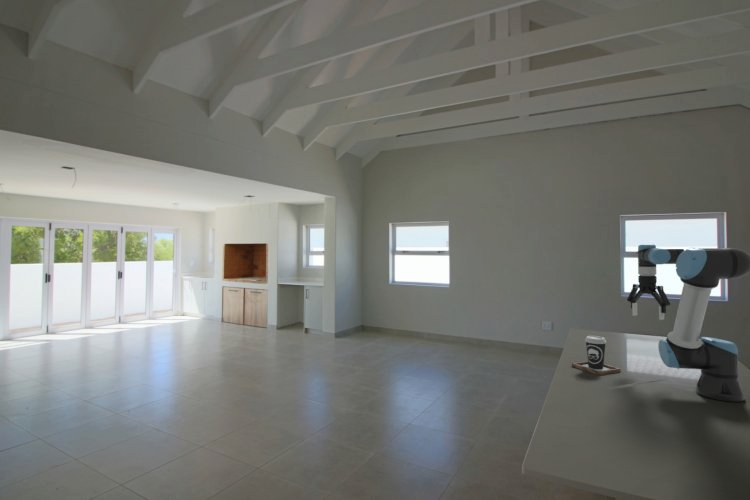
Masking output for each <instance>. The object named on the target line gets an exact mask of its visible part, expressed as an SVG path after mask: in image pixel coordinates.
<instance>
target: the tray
mask: <svg viewBox="0 0 750 500" xmlns="http://www.w3.org/2000/svg"><path fill="white" fill-rule="evenodd" d="M585 364H588V360H587V361H578V362H572V363H571V367H573V368H576V369H578V370H582V371H585V372H589V373H590V374H593V375H597V376H604V375H605V376H606V375H611V374H616V373H617V374H618V373H621V372H622V371H621V368H620V367H616V366H613V365H609V364H606V363H604V365H603V366H604V367H607V368H610V370H603V371H597V370H594V369H591V368H588V367H584V366H582V365H585Z"/></svg>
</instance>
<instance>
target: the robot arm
mask: <svg viewBox="0 0 750 500" xmlns="http://www.w3.org/2000/svg"><path fill="white" fill-rule="evenodd" d="M657 265H675V273H676V275H677V276H678V277H679V279H680V281H681V282H682V283H683V284H682V285H683V286H682V290H681V294H680V299H679V302H678V307H677V311H676V312H677V313H676V316H675V320H674V321H675V322H674V324H673V325H674V326H673V330H672V331H670V332H668V333H667V336H666V339H665V338H663V339H660V340H658V341H659V342H658V347H657V348H658V352H659V357H660V358H661V361H662V363H663V364H664V365H665V366H666V367H667V368H671V369H677V370H679V369H686V370H687V369H688V370H700V372H701V373H700V376H699V379H698V381H697V383H696V386H695V392H696V393H697V394H699V395H700V396H703V397H705V398H708V399H713V400H717V401H723V402H732V403H734V402H735V403H738V402H743V401H744V400H745V392H744V390H743V387H742V385H741V383H740V380H739V351H738V345H737V344H736V343H734V342H732V341H728V340H726V339H725V340H724V339H720V338H716V337H709V336H701V337H700V334H701V331H702V328H703V327H702V326H703V323H704V320H705V316H706V311H707V309H708V308H707V307H708V304H709V301H710V297H711V293H712V290H713V289H715V288H717V287H718V286H719V283H720V280H734V279H740V278H742V277H743V278H744V277H745V276H747V275H749V274H750V253H749V252H747V251H746V250H743V249H739V248H735V247H726V248H724V247H722V248H720V247H719V248H718V247H717V248H715V247H714V248H712V247H711V248H709V247H707V248H705V247H704V248H701V247H681V248H679V247H668V248H667V247H664V248H662V247H656V244H639V245H638V247H637V268H638V269H637V274H638V276H637V278H638V283H639V284H638V283H633V284H632V289H631V291H630V293H629V294H628V297H627V299H626V300H627V302H629V303H630V309H631V311H632V312H631V313H632V314H631V315H632V316H633V317H634V316H636V317H637V316H638V302H637V301H638V300H639V299H640V298H641V296H643V295H644V294H645V295H651V296H652V297H653V298H654V300H656V301H657V303H658V304H659V306H658V320H659V321H663V320H664V321H665V314H666V313H667V307H668V306H671V303H670V300H669V299H668V297H667V295H666V292H665V291H664V286H663V285H657V276H656V275H657Z"/></svg>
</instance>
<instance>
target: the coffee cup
mask: <svg viewBox="0 0 750 500" xmlns="http://www.w3.org/2000/svg"><path fill="white" fill-rule="evenodd" d="M584 342H585V346H586V354H587V361H588V367H589V368H592V369H603V365H604V364H605V363H604V362H605V351H606V344H607V340H606V338H605V337H603V336H598V335H587V336H586V338H585V339H584Z"/></svg>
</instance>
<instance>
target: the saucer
mask: <svg viewBox="0 0 750 500" xmlns="http://www.w3.org/2000/svg"><path fill="white" fill-rule="evenodd" d="M582 366H584V367H588V364H585V365H582ZM588 368H589V367H588ZM591 369H592V368H591ZM594 370H597V371H603V370H610V368H607V367H604V366H603V369H594Z"/></svg>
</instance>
